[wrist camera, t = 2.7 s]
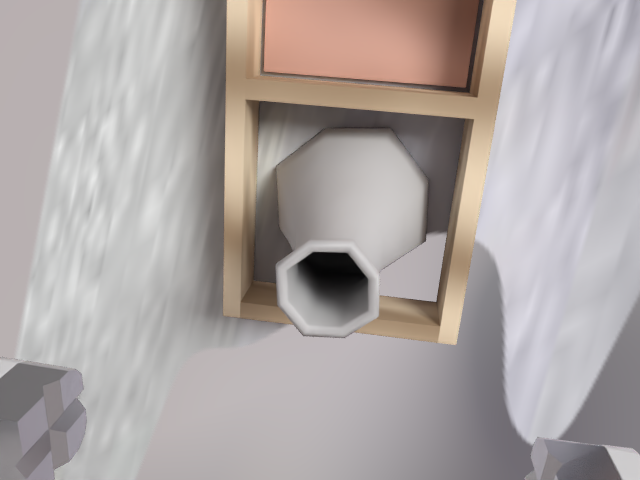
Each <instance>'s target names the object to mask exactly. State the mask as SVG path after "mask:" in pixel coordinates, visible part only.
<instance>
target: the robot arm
mask: <svg viewBox="0 0 640 480" xmlns="http://www.w3.org/2000/svg"><path fill="white" fill-rule="evenodd" d="M83 389H84V388H83V381H82V374H81V373H80V372H79V371H77V370H76V369H73V368H67V367H61V366H55V365H49V364H43V363H37V362H32V361H23V360H18V359H12V358H5V357H0V480H55V478H54V469H56V468H58V467H60V466H62V465H64V464H66V463H68V462H70V460H71V459H72V458H73V456H74V455H75V454H76V452H77V451H78V450H79V447H80V445H81V442H82V440H83V437H84V435H85V429H86V422H87V419H86V409H85V408H84V406H83V405H82V404H81V403H80V401H79V400H78V399H77V397H78V396H79V394H80V393H81V392H82V391H83ZM530 456H531V460H532V463H533V466H534V470H533V471H532V472H531V473H529V474H528V475H527V476H525V479H524V480H640V455H639V454H638V453H637V452H636V451H635V450H633V449H632V448H625V447H616V446H607V445H599V446H598V445H592V444H585V443H577V442H571V441H564V440H557V439H549V438H542V437H537V439H536V441H535V442H534V444H533V448H532V452H531V455H530Z"/></svg>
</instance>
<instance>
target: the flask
mask: <svg viewBox="0 0 640 480" xmlns="http://www.w3.org/2000/svg"><path fill="white" fill-rule="evenodd" d="M276 174H277V196H278V218H279V227H280V229H281V231H282V233H283V234H284V236H285V237H286V239H287V240H288V242H289V243H290V246H291V248H292V250H293V252H291V253H290V254H289V255H287V256H286V257H284V258H283V259H282V260H280V261H279V262H277V263H276V266H275V269H276V289H277V305H278V307H279V308H280V309H281V310H282V311H283V313H284V314H285V315H286V316H287V317H288V319H289V320H290V321H291V322H292V323H293V324H294V326H295V327H296V328H297V329H298V330H299V332H300V333H301V334H302V335H303V336H312V337H335V338H345V337H347V336H348V335H350V334H352V333H353V332H355V331H357V330H358V329H360V328H361V327H363V326H365V325H366V324H368V323H369V322H371V321H373V320H374V319H376V318H377V317H379V292H380V274H379V273H380V272H381V270H382V269H384V268H385V267H387V266H389V265H390V264H392V263H393V262H395V261H396V260H398V259H399V258H401V257H402V256H404V255H405V254H407V253H408V252H410V251H412V250H413V249H414V248H416V247H418V246H419V245H420V244H422V243H424V242H425V241H426V228H427V206H428V184H429V180H428V178H427V177H426V176H425V174H424V173H423V172H422V170H421V169H420V167H419V166H418V165H417V163H416V162H415V161H414V159H413V158H412V156H411V155H410V154H409V152H408V151H407V150H406V148H405V147H404V145H403V144H402V143H401V141H400V140H399V139H398V137H397V136H396V134H395V133H394V132H393V130H392V129H391V128H325V129H324V130H322V131H321V132H320V133H318V134H317V135H316V136H315V137H313V138H312V139H311V140H309V141H308V142H307V143H306V144H304V145H303V146H302V147H300V148H299V149H298V150H297V151H295V152H294V153H293V154H291V155H290V156H289V157H288V158H286V159H285V160H284V161H282V162H281V163H280V164H278V165H277V166H276Z"/></svg>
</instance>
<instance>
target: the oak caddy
mask: <svg viewBox="0 0 640 480" xmlns="http://www.w3.org/2000/svg"><path fill="white" fill-rule="evenodd" d="M516 1H517V0H484V2H483V8H482V15H481V21H480V27H479V34H478V40H477V47H476V53H475V59H474V66H473V72H472V78H471V85H470V91H469V93H467V92H455V91H443V90H431V89H419V88H406V87H394V86H382V85H370V84H357V83H345V82H333V81H321V80H308V79H296V78H284V77H272V76H260V65H261V34H262V3H263V0H227V33H226V113H225V194H224V275H223V316H228V317H236V318H244V319H252V320H260V321H268V322H276V323H284V324H292V325H294V324H293V323H292V322H291V321H290V320H289V319H288V317H287V316H286V315H285V314H284V313H283V311H282V310H281V309H280V308H279V307H278V305H277V289H276V283H270V282H262V281H253V280H254V249H255V218H256V188H257V157H258V126H259V101H270V102H282V103H293V104H305V105H317V106H328V107H340V108H351V109H363V110H375V111H386V112H398V113H409V114H421V115H433V116H444V117H456V118H465V123H464V129H463V136H462V142H461V148H460V155H459V161H458V167H457V174H456V180H455V187H454V193H453V199H452V206H451V212H450V218H449V225H448V231H447V238H446V244H445V251H444V257H443V264H442V270H441V276H440V282H439V289H438V295H437V302H431V301H422V300H413V299H405V298H397V297H389V296H380V295H379V317H377V318H376V319H374V320H373V321H371V322H369V323H368V324H366V325H365V326H363V327H361V328H360V329H358V330H357V331H355V332H356V333H364V334H372V335H380V336H388V337H396V338H404V339H412V340H420V341H428V342H436V343H444V344H452V345H456V343H457V336H458V331H459V325H460V320H461V314H462V308H463V303H464V297H465V291H466V286H467V279H468V274H469V268H470V263H471V257H472V251H473V246H474V240H475V234H476V229H477V223H478V217H479V212H480V206H481V200H482V194H483V189H484V183H485V177H486V172H487V166H488V160H489V155H490V149H491V143H492V138H493V132H494V126H495V120H496V115H497V109H498V103H499V98H500V92H501V86H502V81H503V75H504V69H505V63H506V58H507V52H508V46H509V41H510V35H511V29H512V24H513V18H514V12H515V7H516ZM478 5H479V0H266V21H265V50H264V71H266V72H278V73H290V74H303V75H315V76H328V77H340V78H352V79H365V80H377V81H389V82H402V83H414V84H426V85H439V86H451V87H464V88H466V83H467V76H468V70H469V64H470V57H471V51H472V44H473V38H474V31H475V25H476V18H477V12H478Z"/></svg>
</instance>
